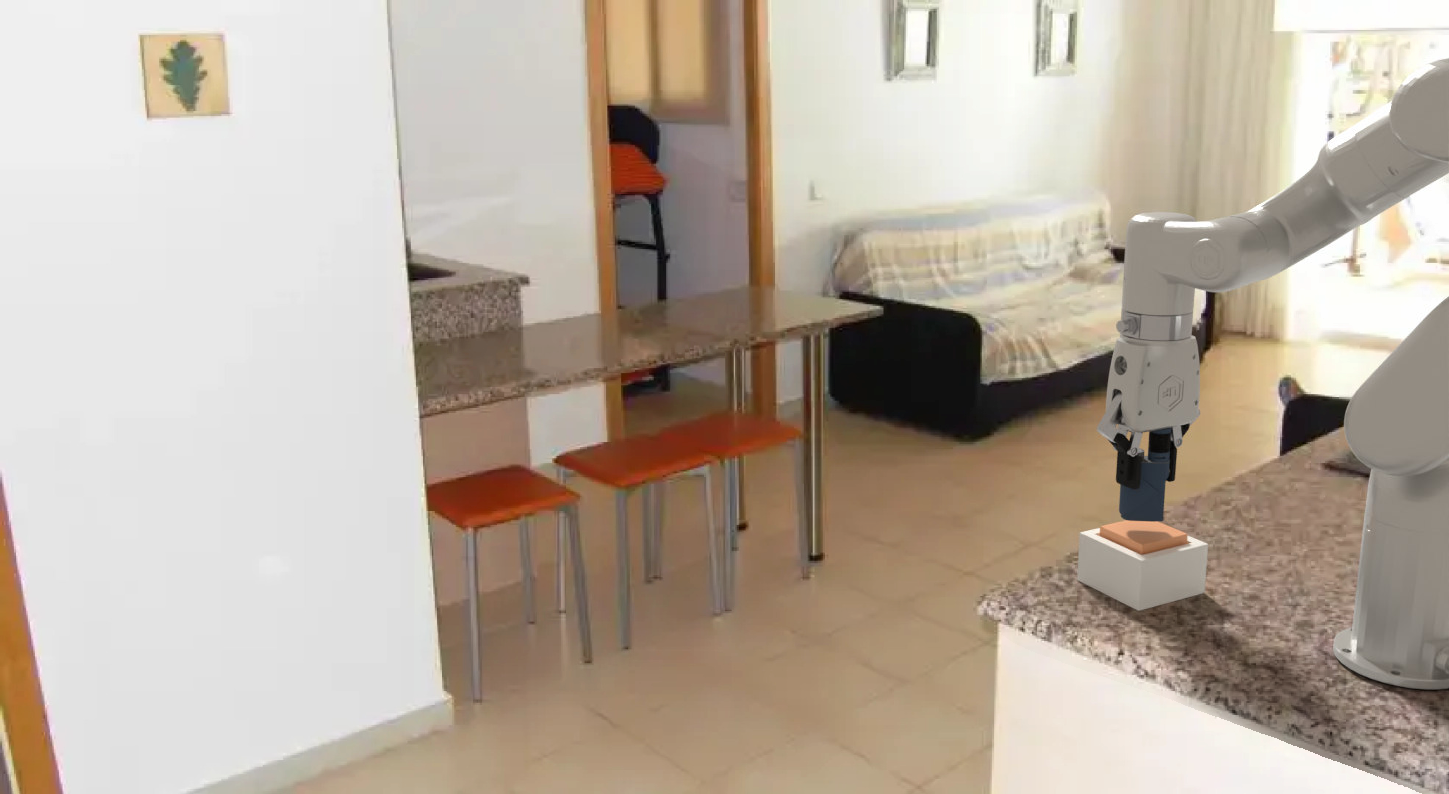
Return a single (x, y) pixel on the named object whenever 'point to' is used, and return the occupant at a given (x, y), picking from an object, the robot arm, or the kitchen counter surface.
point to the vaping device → (1149, 481)
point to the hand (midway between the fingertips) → (1145, 480)
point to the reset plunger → (1143, 536)
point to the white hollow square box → (1142, 571)
